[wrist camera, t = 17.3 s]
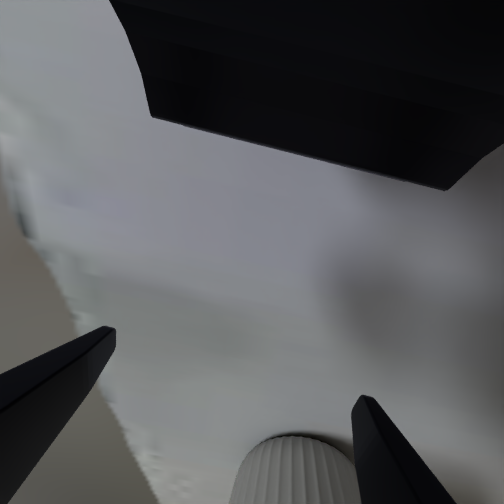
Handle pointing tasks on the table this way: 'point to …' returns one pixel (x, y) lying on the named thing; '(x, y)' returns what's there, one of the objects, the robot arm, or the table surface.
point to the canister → (295, 474)
